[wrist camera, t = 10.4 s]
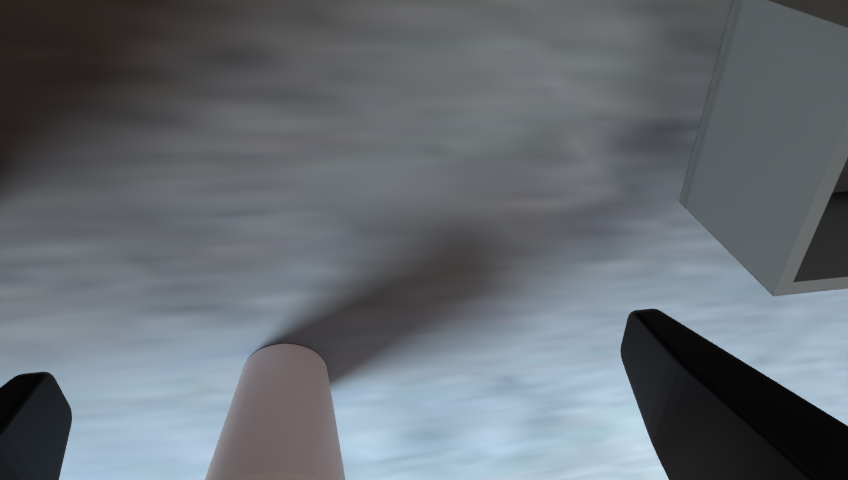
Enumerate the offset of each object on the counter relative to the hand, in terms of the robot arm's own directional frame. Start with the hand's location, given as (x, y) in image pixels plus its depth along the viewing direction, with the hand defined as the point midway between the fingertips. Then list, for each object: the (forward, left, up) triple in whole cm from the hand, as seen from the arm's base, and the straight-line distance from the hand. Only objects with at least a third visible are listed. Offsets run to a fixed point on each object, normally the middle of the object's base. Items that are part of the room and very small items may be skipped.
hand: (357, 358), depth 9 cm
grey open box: (+16, +6, -12) cm, 21 cm away
